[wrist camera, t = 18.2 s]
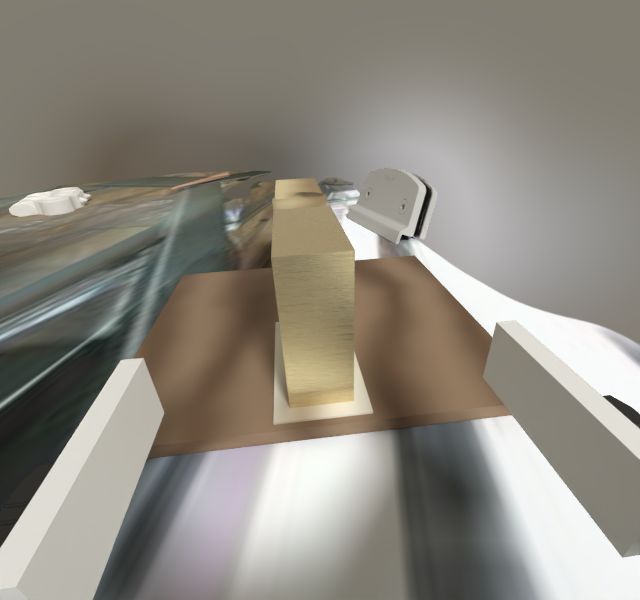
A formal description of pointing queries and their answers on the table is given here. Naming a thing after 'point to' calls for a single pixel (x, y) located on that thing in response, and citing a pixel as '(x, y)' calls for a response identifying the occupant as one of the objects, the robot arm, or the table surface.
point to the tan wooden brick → (314, 304)
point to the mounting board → (268, 362)
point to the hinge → (395, 204)
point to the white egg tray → (50, 202)
